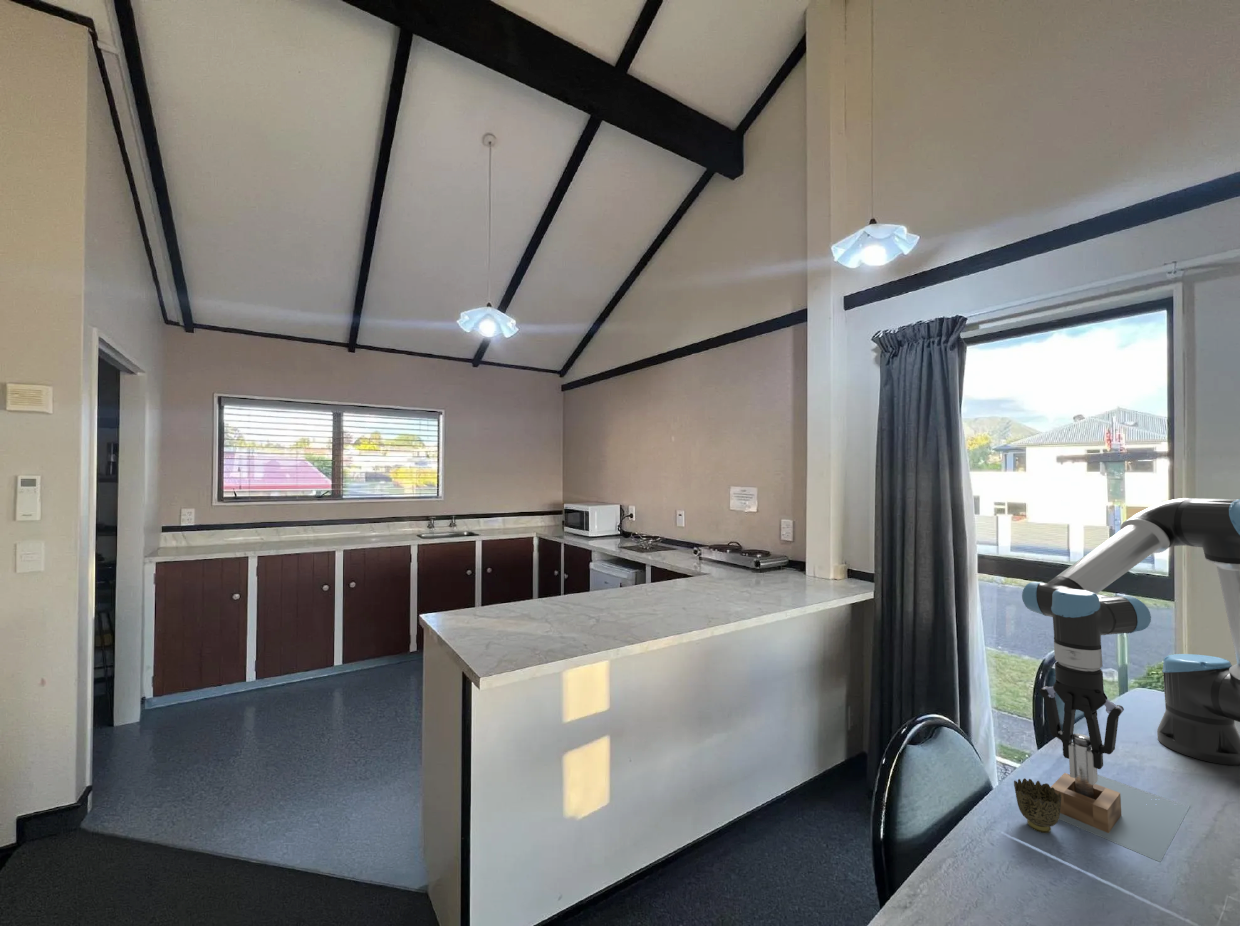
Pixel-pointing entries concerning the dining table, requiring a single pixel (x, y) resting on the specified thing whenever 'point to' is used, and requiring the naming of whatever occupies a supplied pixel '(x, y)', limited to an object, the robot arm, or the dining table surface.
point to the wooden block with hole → (1089, 804)
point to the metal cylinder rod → (1082, 765)
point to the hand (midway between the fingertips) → (1083, 778)
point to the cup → (1038, 804)
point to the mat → (1139, 820)
